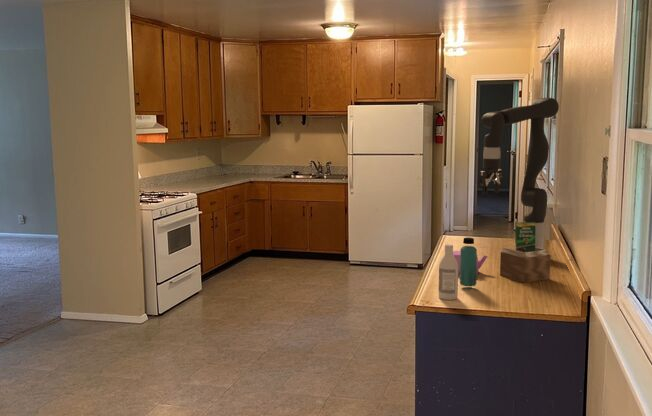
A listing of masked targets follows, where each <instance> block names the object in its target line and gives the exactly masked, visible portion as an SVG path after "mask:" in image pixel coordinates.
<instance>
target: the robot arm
mask: <svg viewBox="0 0 652 416" xmlns="http://www.w3.org/2000/svg"><path fill="white" fill-rule="evenodd" d="M559 108H560V105H559V101H558V100H557V99H555V98H554V97H539V98H536V99H534V100H533V102H532V104H530V105H523V106H522V105H521V106H516V107H515V106H514V107H510V108H506V109H502V110H498V111H497V110H496V111H490V112H487V113H485V114H483V116H482V117H481V120H480V123H481V124H482V127H484V128H485V129H490V130H489V133H488V134H485V136H484V139H483V140H484V141H483V151H482V152H483V153H482V155H483V157H482V168H483V169H484V170H480V171H479V178H478V179H479V181H478V184H479V185H481V186H482V189H481V191H482V195H488V190H489V189H488V188H489V186H488V185H489V183H490V182H491V181H493V184H494V185H493V193H494V194H495V193H497V194H498V193H499V192H500V185H501V184H502V183H503V179H504V178H503V177H504V174H503V172H504V171H503V169H501V157H502V156H501V137H502V135H503V131H504V127H505V126H508V125H513V124H517V123H520V122H524V121H529V120H530V133H529V142H528V150H527V156H526V157H527V158H526V159H527V160H526V165H525V166H526V167H525V174H524V178H523V184H522V187H521V193H520V201H521V205H523V206H524V207H529V208H532V211H531V212H530V213H526V214H525V215H524V216H523V222H535V223H536V237H535V247H538V248H542V249H546V248H545V247H546V237H544V236H545V234H544V233H545V229H544V228H545V220H546V215H547V207H548V192H547V191H546V190H545V189H544V188H542V187H541V188H539V187H536V182H537V179H538V176H539V174H540V173H541V172H542V170H543V169H544V167H545V166H546V165H547V162H548V159H549V151H550V144H549V141H548V138H547V136H546V133H545V130H544V129H545V128H544V126H545V125H544V123H545V118H553V117H554V116H556V115H557V113H558V112H559Z"/></svg>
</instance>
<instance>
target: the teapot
mask: <svg viewBox="0 0 652 416" xmlns="http://www.w3.org/2000/svg"><path fill="white" fill-rule="evenodd" d="M460 253H461V250H453V255H454V257H455V259H456V260H457V263H458V276H460ZM487 258H488V255H485V254H484V255H483V256H481V258H480V259H479V257H478V256H477V258H476V260H477V266H476V267H477V271H476V272H477V273H476V276H478V275H479V269H481V268H482V266H483V264H484V262H485V261H486V259H487Z"/></svg>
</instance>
